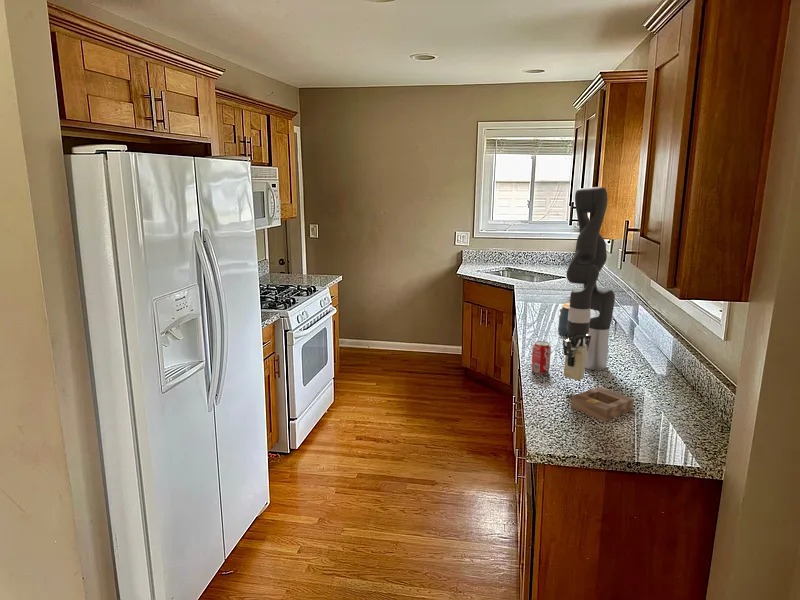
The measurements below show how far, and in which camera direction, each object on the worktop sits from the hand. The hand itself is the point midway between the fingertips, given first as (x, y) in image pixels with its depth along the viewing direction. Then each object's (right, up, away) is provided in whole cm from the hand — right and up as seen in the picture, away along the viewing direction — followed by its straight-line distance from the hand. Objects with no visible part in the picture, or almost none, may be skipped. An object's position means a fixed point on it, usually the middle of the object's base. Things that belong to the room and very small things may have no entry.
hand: (575, 364), depth 194 cm
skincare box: (0, -5, +1) cm, 5 cm away
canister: (+23, +6, +78) cm, 81 cm away
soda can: (-7, -6, +21) cm, 23 cm away
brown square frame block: (+5, -13, -13) cm, 19 cm away
